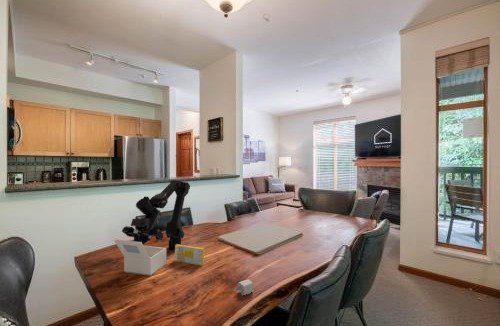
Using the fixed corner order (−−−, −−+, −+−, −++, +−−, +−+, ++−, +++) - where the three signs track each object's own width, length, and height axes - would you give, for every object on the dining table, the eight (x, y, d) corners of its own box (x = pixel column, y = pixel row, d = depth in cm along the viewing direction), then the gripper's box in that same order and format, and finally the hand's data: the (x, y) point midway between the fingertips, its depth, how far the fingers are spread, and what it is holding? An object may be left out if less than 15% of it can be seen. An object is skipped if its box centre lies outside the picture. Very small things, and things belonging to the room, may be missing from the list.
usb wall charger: (253, 292, 91) (253, 282, 91) (238, 299, 87) (238, 288, 87) (247, 288, 94) (247, 278, 94) (232, 293, 90) (232, 283, 90)
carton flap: (114, 239, 100) (113, 240, 99) (141, 242, 97) (140, 243, 96) (124, 255, 106) (123, 256, 105) (150, 258, 102) (149, 259, 102)
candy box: (204, 264, 115) (204, 248, 115) (202, 266, 113) (202, 249, 113) (177, 259, 120) (177, 243, 120) (174, 261, 118) (174, 245, 118)
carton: (142, 260, 117) (142, 245, 117) (166, 264, 114) (166, 248, 114) (124, 272, 106) (124, 255, 106) (150, 276, 103) (150, 258, 102)
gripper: (124, 209, 108) (105, 241, 98) (159, 212, 104) (143, 245, 94) (136, 221, 116) (120, 251, 106) (169, 223, 112) (155, 256, 102)
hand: (133, 251), depth 102 cm, fingers closed, pressing on carton flap
